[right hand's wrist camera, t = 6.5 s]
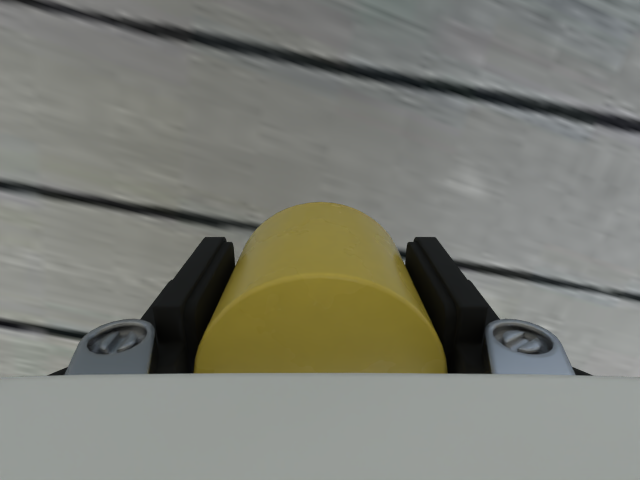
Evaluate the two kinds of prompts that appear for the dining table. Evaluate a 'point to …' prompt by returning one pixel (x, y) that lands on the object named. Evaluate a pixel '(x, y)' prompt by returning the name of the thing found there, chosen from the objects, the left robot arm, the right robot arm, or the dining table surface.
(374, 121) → the dining table surface
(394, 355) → the tin
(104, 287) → the dining table surface
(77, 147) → the dining table surface
